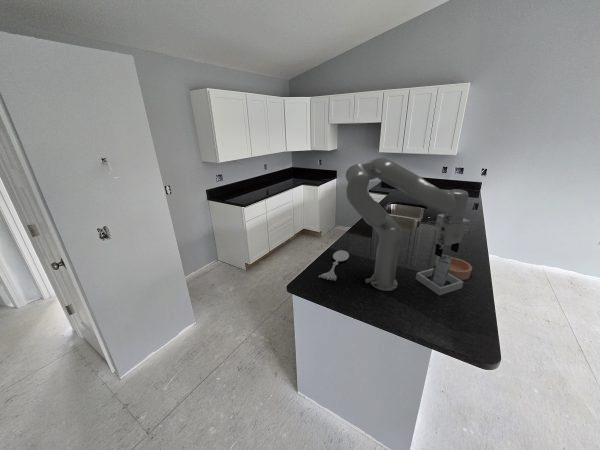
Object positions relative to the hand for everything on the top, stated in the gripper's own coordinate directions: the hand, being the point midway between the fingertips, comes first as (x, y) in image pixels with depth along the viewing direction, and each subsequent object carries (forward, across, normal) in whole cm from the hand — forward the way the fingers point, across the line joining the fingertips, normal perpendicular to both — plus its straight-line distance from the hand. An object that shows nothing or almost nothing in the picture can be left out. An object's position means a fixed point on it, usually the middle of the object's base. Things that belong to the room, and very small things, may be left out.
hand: (446, 253), depth 115 cm
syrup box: (+17, -1, 0) cm, 17 cm away
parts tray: (+16, -1, 0) cm, 16 cm away
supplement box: (+18, +61, +45) cm, 78 cm away
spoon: (+16, -39, +32) cm, 53 cm away
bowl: (+17, +15, +5) cm, 23 cm away
